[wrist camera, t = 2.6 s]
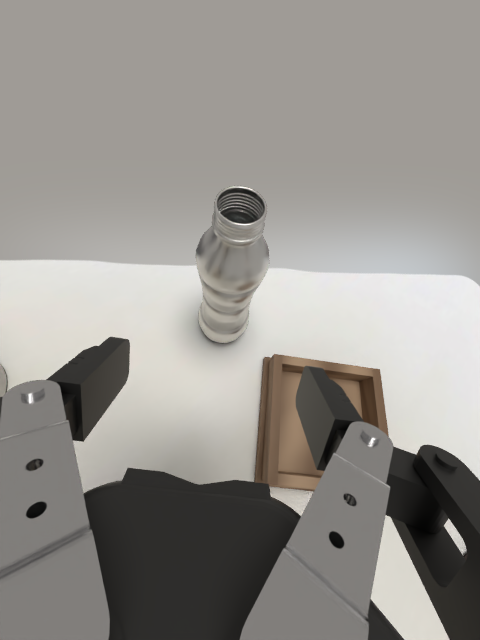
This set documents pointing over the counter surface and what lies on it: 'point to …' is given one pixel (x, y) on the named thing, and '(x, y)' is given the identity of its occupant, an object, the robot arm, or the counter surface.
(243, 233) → the silver metal bottle
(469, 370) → the counter surface
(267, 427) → the square wooden tray
